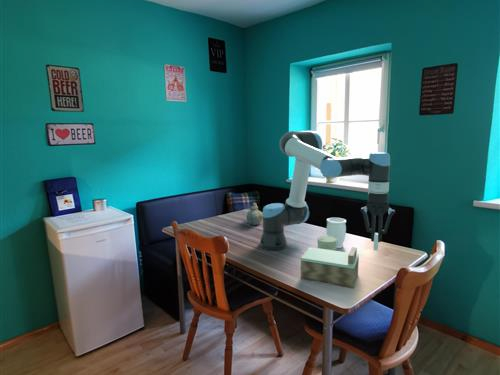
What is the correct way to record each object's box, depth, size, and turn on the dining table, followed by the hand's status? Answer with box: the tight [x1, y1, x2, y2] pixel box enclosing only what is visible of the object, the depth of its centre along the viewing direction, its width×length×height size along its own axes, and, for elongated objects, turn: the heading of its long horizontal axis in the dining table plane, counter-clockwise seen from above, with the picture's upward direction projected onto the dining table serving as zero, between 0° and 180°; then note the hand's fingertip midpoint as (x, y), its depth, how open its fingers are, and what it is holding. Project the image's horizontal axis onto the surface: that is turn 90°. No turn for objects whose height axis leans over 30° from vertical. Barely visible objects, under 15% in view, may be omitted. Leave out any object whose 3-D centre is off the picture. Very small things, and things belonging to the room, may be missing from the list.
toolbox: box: [300, 256, 360, 289], centre depth 138 cm, size 22×14×8 cm, turn 64°
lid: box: [300, 246, 360, 269], centre depth 137 cm, size 22×14×5 cm, turn 64°
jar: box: [326, 217, 347, 249], centre depth 174 cm, size 11×10×15 cm
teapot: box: [246, 202, 263, 226], centre depth 219 cm, size 21×12×15 cm, turn 179°
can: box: [317, 235, 337, 251], centre depth 154 cm, size 9×9×12 cm
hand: (375, 249), depth 128 cm, fingers closed
